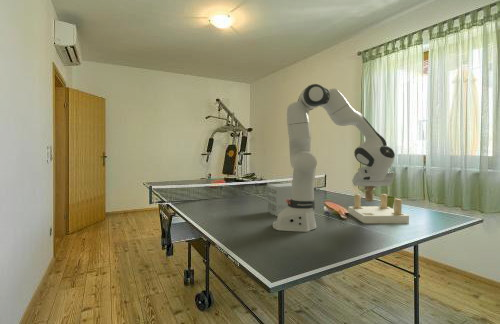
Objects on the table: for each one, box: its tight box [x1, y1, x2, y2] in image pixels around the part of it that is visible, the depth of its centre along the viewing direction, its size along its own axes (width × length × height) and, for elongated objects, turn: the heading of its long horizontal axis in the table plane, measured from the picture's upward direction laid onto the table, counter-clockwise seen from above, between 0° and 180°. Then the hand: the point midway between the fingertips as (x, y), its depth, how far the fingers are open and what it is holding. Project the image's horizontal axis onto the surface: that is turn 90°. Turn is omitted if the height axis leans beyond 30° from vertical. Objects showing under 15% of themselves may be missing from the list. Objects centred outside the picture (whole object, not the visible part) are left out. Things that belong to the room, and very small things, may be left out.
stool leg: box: [365, 186, 374, 202], centre depth 151 cm, size 4×4×11 cm
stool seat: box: [347, 193, 410, 224], centre depth 160 cm, size 24×24×12 cm
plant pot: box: [379, 195, 397, 209], centre depth 179 cm, size 9×9×9 cm
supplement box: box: [267, 182, 292, 217], centre depth 172 cm, size 17×13×18 cm
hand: (368, 188), depth 152 cm, fingers closed on stool leg, 4 cm apart
